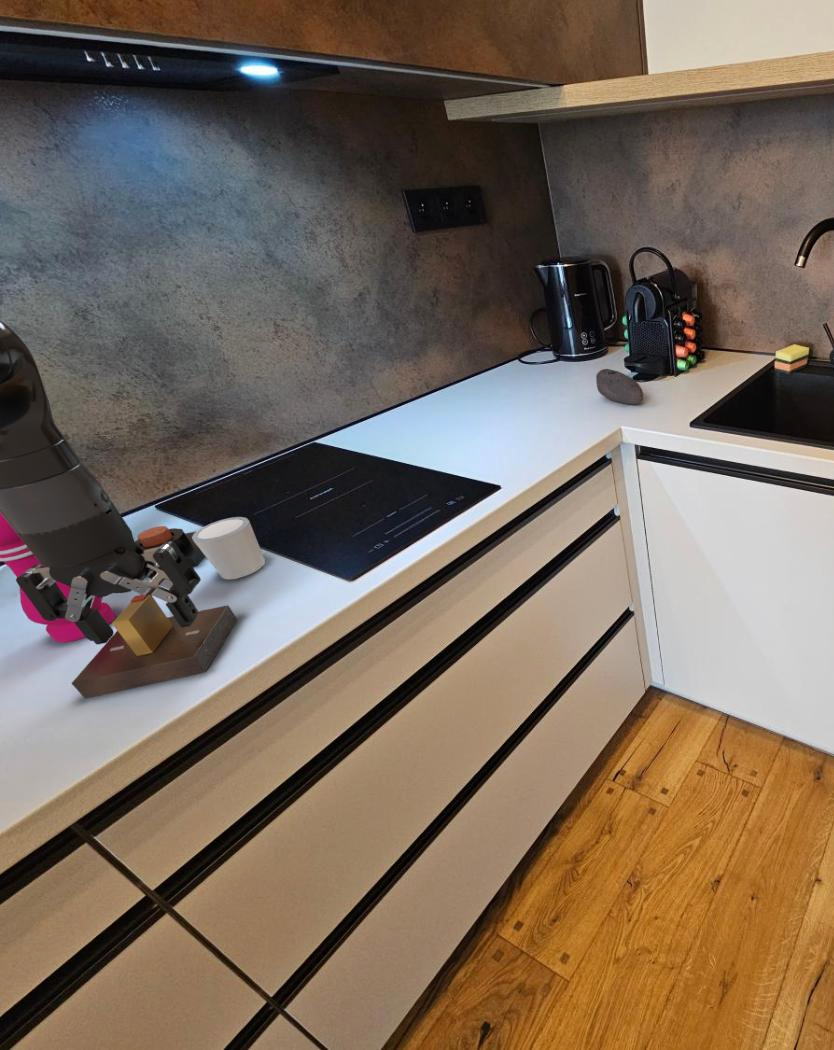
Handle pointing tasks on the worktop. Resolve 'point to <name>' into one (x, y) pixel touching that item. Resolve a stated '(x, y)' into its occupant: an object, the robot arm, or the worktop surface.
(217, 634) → the plate
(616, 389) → the perforated stone tool
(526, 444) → the worktop surface
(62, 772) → the worktop surface
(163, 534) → the button
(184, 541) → the block
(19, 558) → the pepper mill
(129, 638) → the lock knob
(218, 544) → the white cup
